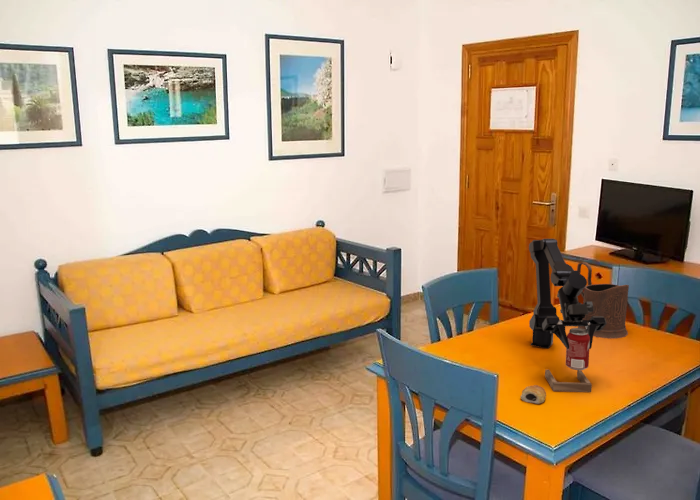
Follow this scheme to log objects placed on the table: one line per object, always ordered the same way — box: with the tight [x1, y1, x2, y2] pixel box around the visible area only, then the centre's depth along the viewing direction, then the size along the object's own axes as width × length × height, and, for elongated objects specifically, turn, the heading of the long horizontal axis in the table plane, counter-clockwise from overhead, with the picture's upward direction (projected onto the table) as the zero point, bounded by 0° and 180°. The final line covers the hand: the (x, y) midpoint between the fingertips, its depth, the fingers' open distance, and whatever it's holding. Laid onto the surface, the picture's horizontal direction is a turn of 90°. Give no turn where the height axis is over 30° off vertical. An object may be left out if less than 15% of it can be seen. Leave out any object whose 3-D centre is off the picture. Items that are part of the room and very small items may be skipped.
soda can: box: [565, 327, 590, 371], centre depth 191 cm, size 7×7×12 cm
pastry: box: [520, 384, 547, 405], centre depth 184 cm, size 9×7×4 cm
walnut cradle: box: [544, 369, 593, 393], centre depth 193 cm, size 11×11×2 cm
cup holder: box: [576, 261, 630, 340], centre depth 242 cm, size 18×24×25 cm
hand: (579, 348), depth 190 cm, fingers closed on soda can, 6 cm apart
